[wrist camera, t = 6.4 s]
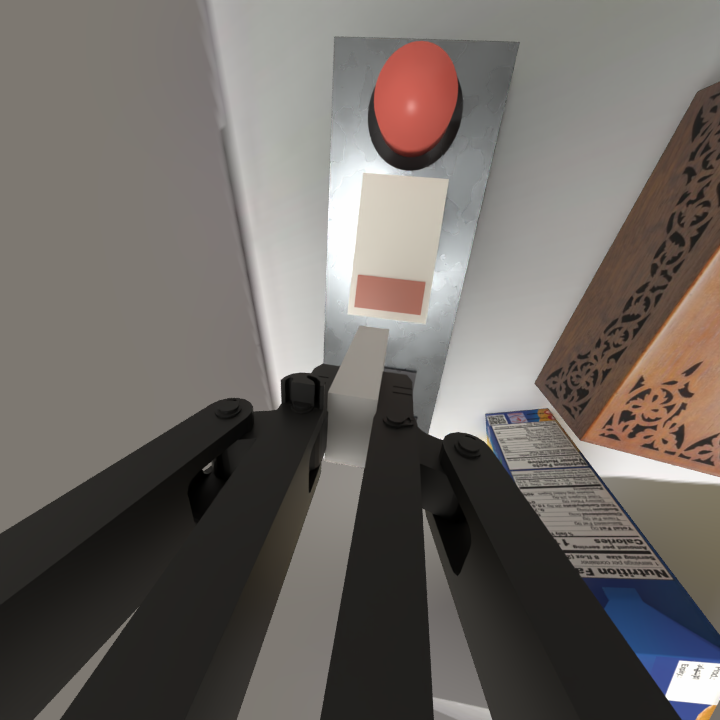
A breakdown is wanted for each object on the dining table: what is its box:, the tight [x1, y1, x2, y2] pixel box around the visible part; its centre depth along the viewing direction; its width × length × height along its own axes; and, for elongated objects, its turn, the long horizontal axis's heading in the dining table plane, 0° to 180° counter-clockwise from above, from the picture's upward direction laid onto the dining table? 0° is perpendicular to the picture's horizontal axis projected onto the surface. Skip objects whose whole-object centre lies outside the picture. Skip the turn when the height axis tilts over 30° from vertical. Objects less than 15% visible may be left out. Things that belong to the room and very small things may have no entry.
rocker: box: [347, 173, 449, 324], centre depth 22 cm, size 10×6×2 cm, turn 176°
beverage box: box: [485, 408, 720, 720], centre depth 27 cm, size 7×11×22 cm, turn 13°
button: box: [374, 41, 458, 157], centre depth 19 cm, size 5×5×3 cm
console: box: [323, 37, 520, 434], centre depth 28 cm, size 32×12×6 cm, turn 175°
